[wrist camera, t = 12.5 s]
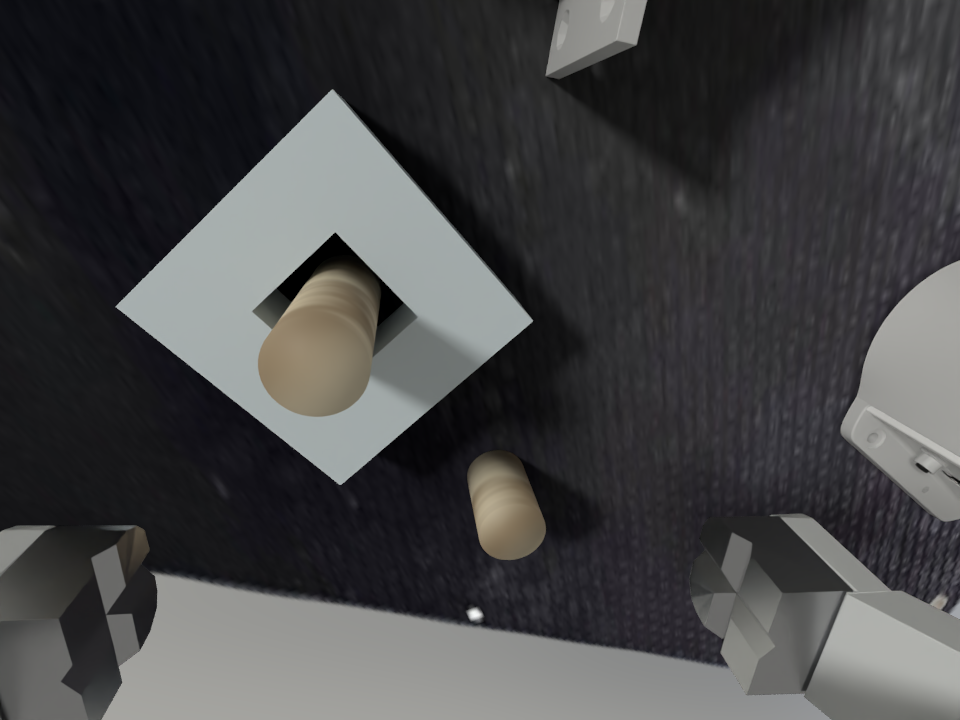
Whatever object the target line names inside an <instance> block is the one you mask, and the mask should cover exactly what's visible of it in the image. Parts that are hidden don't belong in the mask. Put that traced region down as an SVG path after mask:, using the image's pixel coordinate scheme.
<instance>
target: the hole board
mask: <svg viewBox="0 0 960 720" xmlns="http://www.w3.org/2000/svg"><path fill="white" fill-rule="evenodd" d="M335 232H336V233H337V234H338V235H339V236H340V237H341V239H342V240H343V241H344V242H345V243H346V244H347V245H348V246H349V247H350V248H351V249H352V250H353V251H354V252H355V253H356V254H357V255H358V256H359V257H360V258H361V259H362V260H363V261H364V262H365V263H366V264H367V265H368V266H369V267H370V268H371V269H372V270H373V271H374V272H375V273H376V274H377V275H378V276H379V277H380V278H381V279H382V280H383V282H384V283H385V284H386V285H387V286H388V287H389V288H390V289H391V290H392V291H393V292H394V293H395V294H396V295H397V296H398V297H399V298H400V299H401V300H402V301H403V302H404V303H403V304H402V305H401V306H400V307H399V308H398V309H397V310H395V311H394V312H393V313H392V314H391V315H390V316H389V317H388V318H387V319H385V320H384V321H383V322H382V323H381V324H380V325H379V326H378V327H377V329H376V336H375V343H374V350H373V358H372V365H371V372H370V378H369V382H368V385H367V388H366V390H365V391H364V393H363V395H362V396H361V397H360V399H359V400H358V401H357V402H356V403H355V404H353V405H352V406H351V407H349V408H348V409H346V410H344V411H342V412H340V413H337V414H334V415H330V416H324V417H311V416H304V415H300V414H297V413H294V412H292V411H289V410H288V409H286V408H284V407H282V406H281V405H280V404H278V403H277V402H276V401H275V400H274V399H273V398H272V397H271V396H270V395H269V394H268V392H267V391H266V389H265V388H264V386H263V384H262V382H261V379H260V376H259V371H258V357H259V352H260V349H261V346H262V344H263V342H264V341H265V339H266V338H267V336H268V335H269V333H270V332H271V331H272V329H273V328H274V326H275V325H276V324H277V322H278V321H279V319H280V318H281V317H282V315H283V314H284V313H285V311H286V310H287V308H288V307H289V306H290V304H291V303H292V302H291V301H290V300H289V299H288V298H287V297H285V296H284V295H283V294H282V293H281V292H280V291H279V290H278V289H277V287H278V286H279V285H280V284H281V283H282V282H283V281H284V280H285V279H286V278H287V277H288V276H290V275H291V274H292V273H293V272H294V271H295V270H296V269H297V268H298V267H299V266H300V265H301V264H302V263H303V262H304V261H305V260H306V259H307V258H308V257H310V256H311V255H312V254H313V253H314V252H315V251H316V250H317V249H318V248H319V247H320V246H321V245H322V244H323V243H324V242H325V241H326V240H327V239H329V238H330V237H331V236H332V235H333V234H334V233H335ZM116 307H117V308H118V309H119V310H120V311H122V312H123V313H124V314H125V315H127V316H128V317H129V318H130V319H132V320H133V321H134V322H135V323H137V324H138V325H139V326H140V327H142V328H143V329H144V330H146V331H147V332H148V333H149V334H151V335H152V336H153V337H154V338H156V339H157V340H158V341H159V342H161V343H162V344H163V345H164V346H166V347H167V348H168V349H169V350H171V351H172V352H173V353H174V354H176V355H177V356H178V357H180V358H181V359H182V360H183V361H185V362H186V363H187V364H188V365H190V366H191V367H192V368H193V369H195V370H196V371H197V372H198V373H200V374H201V375H202V376H203V377H205V378H206V379H207V380H208V381H210V382H211V383H212V384H214V385H215V386H216V387H217V388H219V389H220V390H221V391H222V392H224V393H225V394H226V395H227V396H229V397H230V398H231V399H232V400H234V401H235V402H236V403H237V404H239V405H240V406H241V407H242V408H244V409H245V410H246V411H248V412H249V413H250V414H251V415H253V416H254V417H255V418H256V419H258V420H259V421H260V422H261V423H263V424H264V425H265V426H266V427H268V428H269V429H270V430H271V431H273V432H274V433H275V434H276V435H278V436H279V437H280V438H282V439H283V440H284V441H285V442H287V443H288V444H289V445H290V446H292V447H293V448H294V449H295V450H297V451H298V452H299V453H300V454H302V455H303V456H304V457H305V458H307V459H308V460H309V461H310V462H312V463H313V464H314V465H316V466H317V467H318V468H319V469H321V470H322V471H323V472H324V473H326V474H327V475H328V476H329V477H331V478H332V479H333V480H334V481H336V482H337V483H338V484H339V485H341V484H342V483H344V482H345V481H346V480H347V479H348V478H350V477H351V476H352V475H353V474H354V473H355V472H357V471H358V470H359V469H360V468H361V467H362V466H364V465H365V464H366V463H367V462H368V461H369V460H371V459H372V458H373V457H374V456H375V455H377V454H378V453H379V452H380V451H381V450H382V449H384V448H385V447H386V446H387V445H388V444H389V443H391V442H392V441H393V440H394V439H395V438H397V437H398V436H399V435H400V434H401V433H402V432H404V431H405V430H406V429H407V428H408V427H409V426H411V425H412V424H413V423H414V422H415V421H416V420H418V419H419V418H420V417H421V416H422V415H424V414H425V413H426V412H427V411H428V410H429V409H431V408H432V407H433V406H434V405H435V404H436V403H438V402H439V401H440V400H441V399H442V398H444V397H445V396H446V395H447V394H448V393H449V392H451V391H452V390H453V389H454V388H455V387H456V386H458V385H459V384H460V383H461V382H462V381H463V380H465V379H466V378H467V377H468V376H469V375H471V374H472V373H473V372H474V371H475V370H476V369H478V368H479V367H480V366H481V365H482V364H483V363H485V362H486V361H487V360H488V359H489V358H491V357H492V356H493V355H494V354H495V353H496V352H498V351H499V350H500V349H501V348H502V347H503V346H505V345H506V344H507V343H508V342H509V341H510V340H512V339H513V338H514V337H515V336H516V335H518V334H519V333H520V332H521V331H522V330H523V329H525V328H526V327H527V326H528V325H529V324H530V323H532V322H533V320H532V319H531V317H530V316H529V315H528V313H527V312H526V311H525V310H524V308H523V307H522V306H521V304H520V303H519V302H518V300H517V299H516V298H515V297H514V295H513V294H512V293H511V292H510V291H509V290H508V288H507V287H506V286H505V285H504V284H503V283H502V282H501V280H500V279H499V278H498V277H497V276H496V275H495V273H494V272H493V271H492V270H491V269H490V268H489V266H488V265H487V264H486V263H485V262H484V261H483V260H482V258H481V257H480V256H479V255H478V254H477V253H476V251H475V250H474V249H473V248H472V247H471V246H470V245H469V243H468V242H467V241H466V240H465V239H464V238H463V236H462V235H461V234H460V233H459V232H458V231H457V230H456V228H455V227H454V226H453V225H452V224H451V223H450V221H449V220H448V219H447V218H446V217H445V216H444V214H443V213H442V212H441V211H440V210H439V209H438V208H437V206H436V205H435V204H434V203H433V202H432V201H431V199H430V198H429V197H428V196H427V195H426V194H425V193H424V191H423V190H422V189H421V188H420V187H419V186H418V184H417V183H416V182H415V181H414V180H413V179H412V177H411V176H410V175H409V174H408V173H407V172H406V171H405V169H404V168H403V167H402V166H401V165H400V164H399V162H398V161H397V160H396V159H395V158H394V157H393V156H392V154H391V153H390V152H389V151H388V150H387V149H386V147H385V146H384V145H383V144H382V143H381V142H380V140H379V139H378V138H377V137H376V136H375V135H374V134H373V132H372V131H371V130H370V129H369V128H368V127H367V125H366V124H365V123H364V122H363V121H362V120H361V119H360V117H359V116H358V115H357V114H356V113H355V112H354V110H353V109H352V108H351V107H350V106H349V105H348V104H347V102H346V101H345V100H344V99H343V98H342V97H341V96H339V95H338V94H337V93H336V92H335V91H334V90H333V89H332V90H331V91H330V92H329V93H328V94H327V95H326V96H325V97H324V98H323V99H322V100H321V101H320V102H319V103H318V104H317V105H316V106H315V107H314V108H313V109H312V110H311V111H310V112H309V113H308V114H307V115H306V116H305V117H304V118H303V119H302V120H301V121H300V122H299V123H298V124H297V125H296V126H295V127H294V128H293V129H292V130H291V131H290V132H289V133H288V134H287V135H286V136H285V137H284V138H283V139H282V140H281V141H280V142H279V143H278V144H277V145H276V146H275V147H274V148H273V149H272V150H271V151H270V152H269V153H268V154H267V155H266V156H265V157H264V158H263V159H262V160H261V161H260V162H259V163H258V164H257V165H256V166H255V167H254V168H253V169H252V170H251V171H250V172H249V173H248V174H247V175H246V176H245V177H244V178H243V179H242V180H241V181H240V182H239V183H238V184H237V185H236V186H235V187H234V188H233V189H232V190H231V191H230V192H229V193H228V194H227V195H226V196H225V197H224V199H223V200H222V201H221V202H220V203H219V204H218V205H217V206H216V207H215V208H214V209H213V210H212V211H211V212H210V213H209V214H208V215H207V216H206V217H205V218H204V219H203V220H202V221H201V222H200V223H199V224H198V225H197V226H196V227H195V228H194V229H193V230H192V231H191V232H190V233H189V234H188V235H187V236H186V237H185V238H184V239H183V240H182V241H181V242H180V243H179V244H178V245H177V246H176V247H175V248H174V249H173V250H172V251H171V252H170V253H169V254H168V255H167V256H166V257H165V258H164V259H163V260H162V261H161V262H160V263H159V264H158V265H157V266H156V267H155V268H154V269H153V270H152V271H151V272H150V273H149V274H148V275H147V276H146V277H145V278H144V279H143V280H142V281H141V282H140V283H139V284H138V285H137V286H136V287H135V288H134V289H133V290H132V291H131V292H130V293H129V294H128V295H127V296H126V297H125V298H124V299H123V300H122V301H121V302H120V303H119V304H118V305H117V306H116Z"/></svg>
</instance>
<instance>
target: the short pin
mask: <svg viewBox="0 0 960 720" xmlns="http://www.w3.org/2000/svg"><path fill="white" fill-rule="evenodd" d="M467 481H468V486H469V491H470V496H471V501H472V506H473V511H474V516H475V521H476V526H477V531H478V536H479V541H480V544H481V546H482V548H483V549H484V550H485V551H486V552H487V553H488V554H489V555H491V556H493V557H495V558H498V559H502V560H514V559H518V558H522V557H524V556H526V555H528V554H530V553H532V552H533V551H534V550H535V549H537V547H538V546H539V545H540V544H541V542H542V541H543V539H544V536H545V532H546V525H545V521H544V518H543V516H542V513H541V511H540V508H539V505H538V503H537V500H536V498H535V495H534V493H533V490H532V487H531V485H530V482H529V480H528V477H527V474H526V472H525V469H524V467H523V464H522V462H521V461H520V459H519V458H518V457H517V456H516V455H514V454H513V453H510V452H508V451H504V450H493V451H489V452H486V453H484V454H482V455H480V456H479V457H477V458H476V459H475V460H474V461H473V462H472V464H471V465H470V467H469V470H468V473H467Z"/></svg>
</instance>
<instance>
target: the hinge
mask: <svg viewBox="0 0 960 720" xmlns="http://www.w3.org/2000/svg"><path fill="white" fill-rule="evenodd" d="M646 3H647V0H559V6H558V11H557V17H556V22H555V28H554V33H553V38H552V44H551V49H550V55H549V60H548V66H547V71H546V76H547V77H551V78H556V79H561V78H563V77H565V76H568V75H570V74H572V73H574V72H577V71H579V70H581V69H583V68H586V67H588V66H590V65H592V64H595V63H597V62H599V61H601V60H604V59H606V58H608V57H611V56H613V55H615V54H617V53H620V52H622V51H624V50H626V49H629V48H631V47H633V46H635V45H637V41H638V37H639V33H640V29H641V24H642V20H643V16H644V12H645V7H646Z"/></svg>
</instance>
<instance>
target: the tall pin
mask: <svg viewBox="0 0 960 720" xmlns="http://www.w3.org/2000/svg"><path fill="white" fill-rule="evenodd" d="M380 300H381V283H380V280H379V277H378V275H377V274H376V273H375V272H374V271H373V270H372V269H371V268H370V267H369V266H368V265H367V264H366V263H365V262H364V261H363V260H362V259H360V258H357V257H355V256H351V255H337V256H333V257H330V258H328V259H326V260H325V261H323V262H322V263H321V264H320V265H319V266H318V267H317V268H316V269H315V271H314V272H313V274H312V275H311V276H310V278H309V279H308V281H307V282H306V283H305V285H304V286H303V288H302V289H301V290H300V292H299V293H298V294H297V296H296V297H295V299H294V300H293V301H292V303H291V304H290V306H289V307H288V308H287V310H286V311H285V313H284V314H283V315H282V317H281V318H280V319H279V321H278V322H277V324H276V325H275V326H274V328H273V329H272V331H271V332H270V333H269V335H268V336H267V338H266V339H265V341H264V342H263V344H262V346H261V349H260V352H259V357H258V371H259V376H260V379H261V382H262V384H263V386H264V388H265V389H266V391H267V392H268V394H269V395H270V396H271V397H272V398H273V399H274V400H275V401H276V402H277V403H278V404H280V405H281V406H282V407H284V408H286V409H288V410H289V411H292V412H294V413H297V414H300V415H304V416H311V417H324V416H330V415H334V414H337V413H340V412H342V411H344V410H346V409H348V408H349V407H351V406H352V405H353V404H355V403H356V402H357V401H358V400H359V399H360V397H361V396H362V395H363V393H364V391H365V390H366V388H367V385H368V382H369V378H370V372H371V365H372V358H373V350H374V343H375V336H376V329H377V322H378V314H379V307H380Z"/></svg>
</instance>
